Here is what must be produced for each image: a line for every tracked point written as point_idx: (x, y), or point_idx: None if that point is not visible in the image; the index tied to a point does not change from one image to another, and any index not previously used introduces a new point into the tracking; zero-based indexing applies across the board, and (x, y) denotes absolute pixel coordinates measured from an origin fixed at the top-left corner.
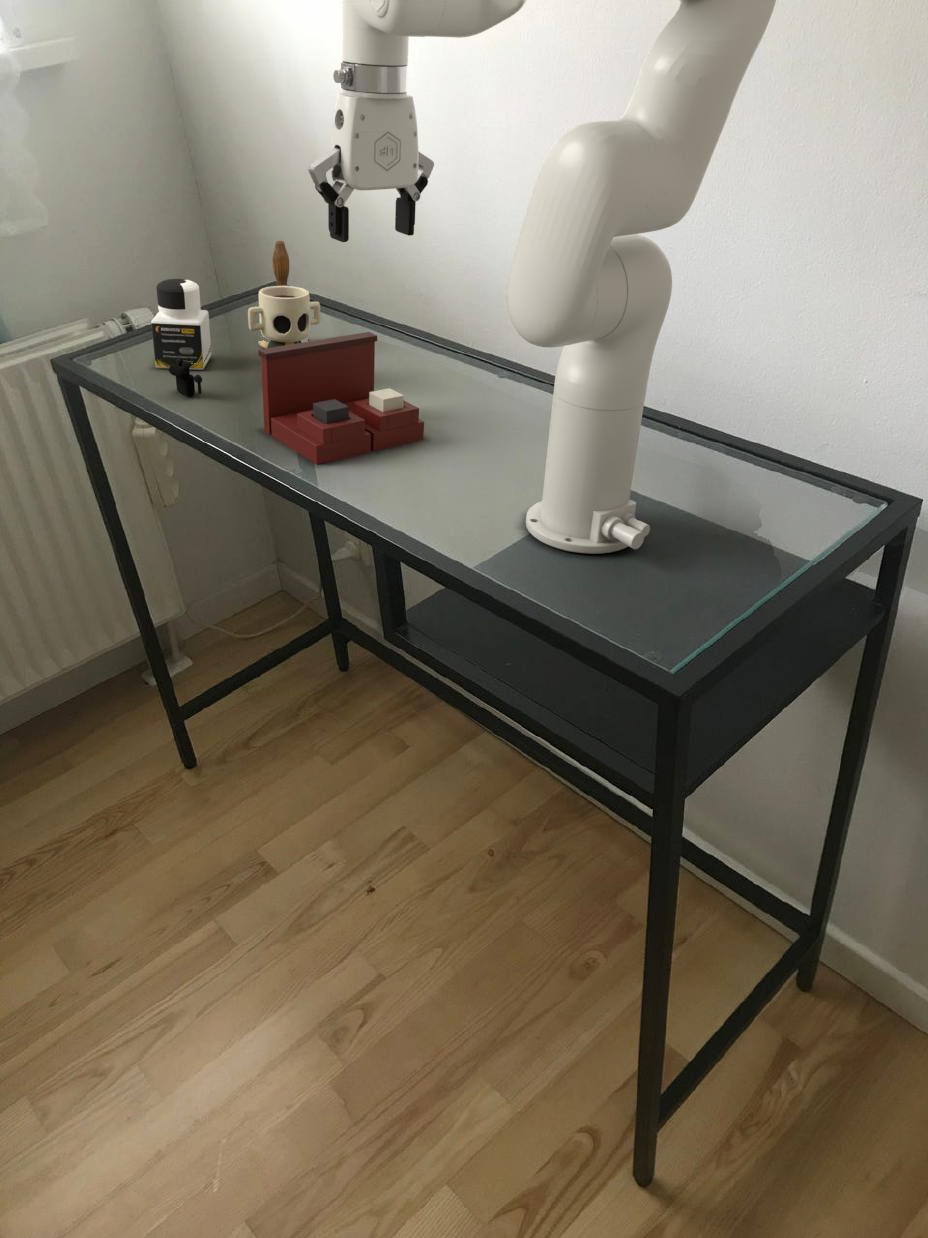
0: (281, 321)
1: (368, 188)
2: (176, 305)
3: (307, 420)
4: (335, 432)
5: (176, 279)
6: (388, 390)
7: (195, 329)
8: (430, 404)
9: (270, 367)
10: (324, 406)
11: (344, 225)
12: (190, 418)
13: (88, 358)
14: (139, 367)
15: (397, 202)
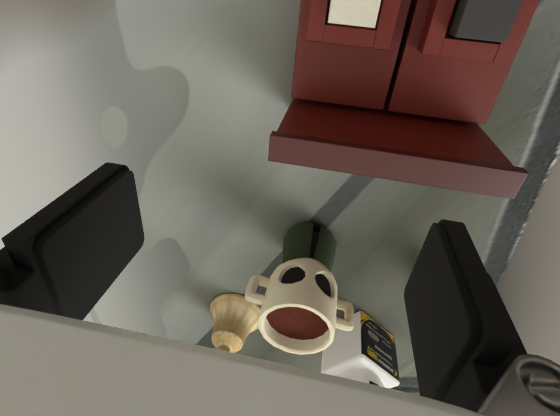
0: (324, 289)
1: (403, 393)
2: None
3: (526, 25)
4: None
5: None
6: (340, 11)
7: (366, 351)
8: (204, 69)
9: (503, 162)
10: (507, 12)
11: (481, 265)
12: (493, 223)
13: None
14: (404, 345)
15: (79, 311)
